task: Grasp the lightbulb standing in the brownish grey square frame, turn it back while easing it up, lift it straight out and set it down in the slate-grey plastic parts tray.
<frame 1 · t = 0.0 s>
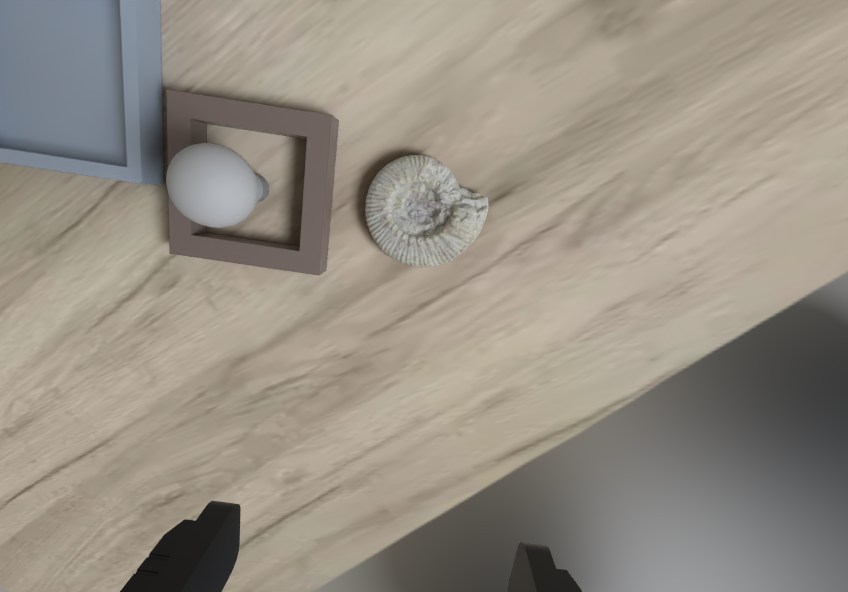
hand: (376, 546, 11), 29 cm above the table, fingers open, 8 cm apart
brownish grey square frame: (259, 188, 37), on the table
fossil: (425, 212, 38), on the table
tray: (72, 79, 35), on the table
lightbulb: (260, 188, 37), resting in brownish grey square frame
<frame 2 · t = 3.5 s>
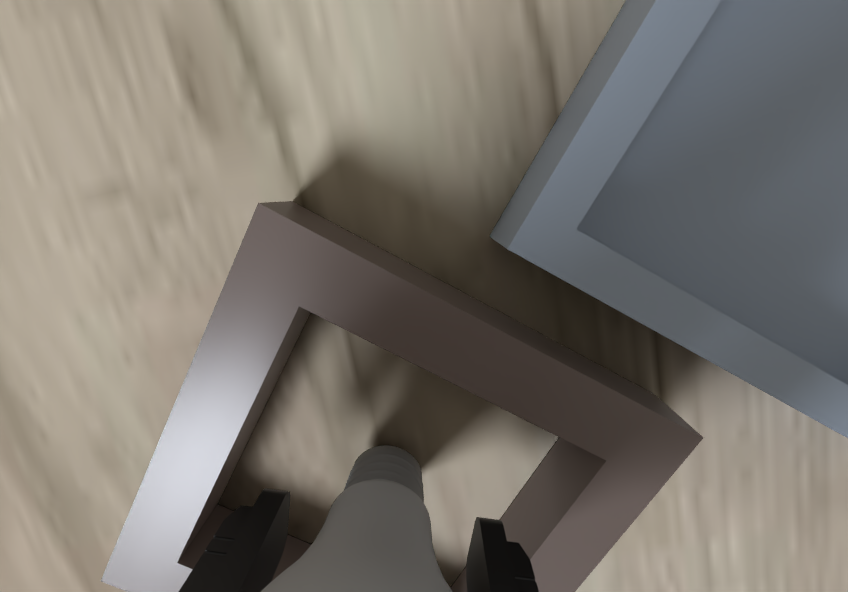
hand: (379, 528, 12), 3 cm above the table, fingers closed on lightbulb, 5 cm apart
brownish grey square frame: (389, 461, 15), on the table
lightbulb: (389, 457, 15), resting in brownish grey square frame, touching gripper
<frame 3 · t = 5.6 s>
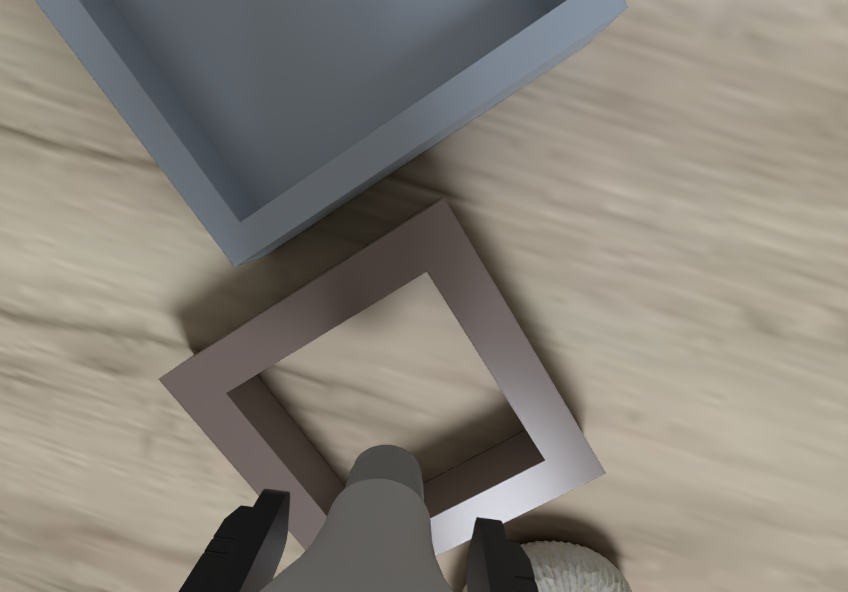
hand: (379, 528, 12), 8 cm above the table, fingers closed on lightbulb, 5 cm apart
brownish grey square frame: (393, 398, 19), on the table
lightbulb: (390, 456, 15), point 5 cm above the table, touching gripper
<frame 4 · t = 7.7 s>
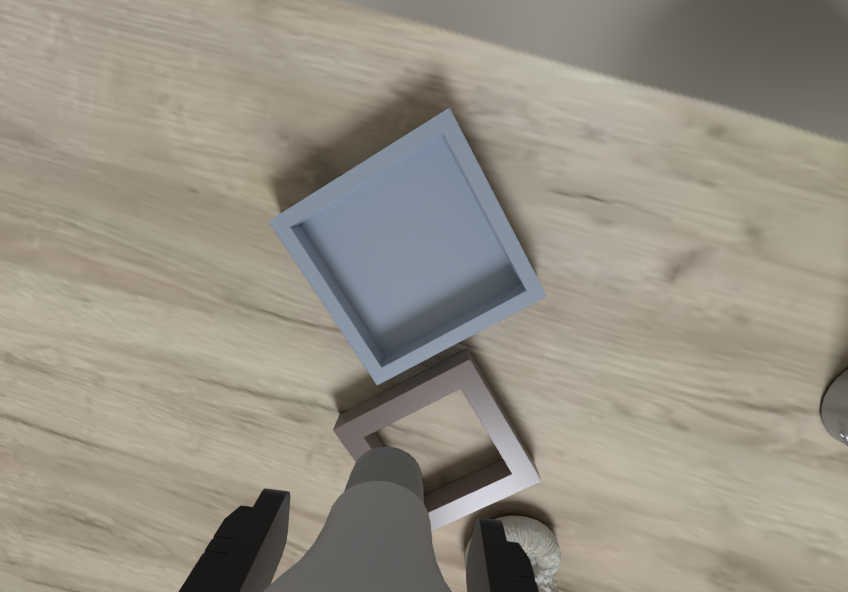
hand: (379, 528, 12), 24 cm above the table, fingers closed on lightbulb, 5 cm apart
brownish grey square frame: (438, 439, 38), on the table
fossil: (512, 549, 42), on the table
tray: (411, 253, 33), on the table
lightbulb: (390, 458, 15), point 20 cm above the table, touching gripper
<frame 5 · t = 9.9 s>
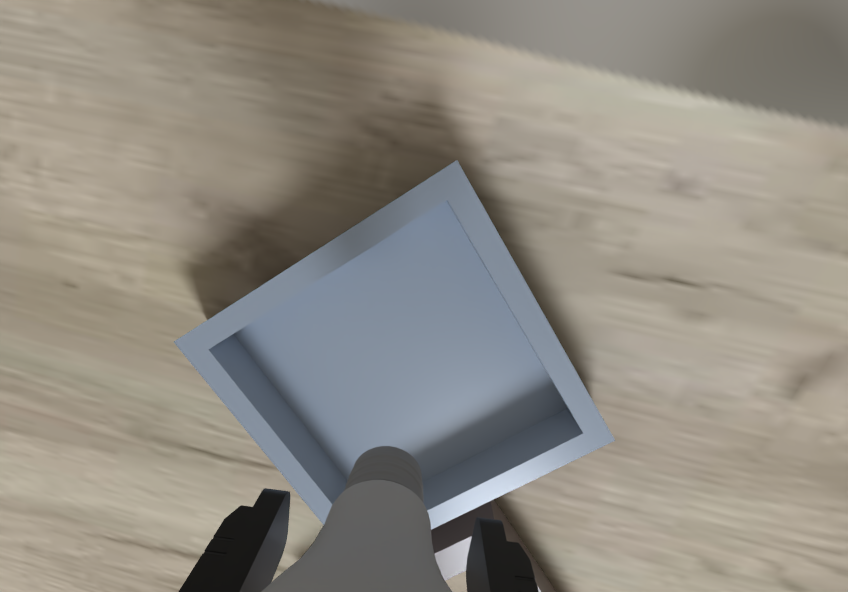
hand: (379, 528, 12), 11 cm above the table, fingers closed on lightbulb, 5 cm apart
tray: (403, 366, 22), on the table
lightbulb: (389, 457, 15), point 8 cm above the table, touching gripper
when the fingers open (5 cm above the table, at t = 11.8 s): lightbulb drops 2 cm, resting on tray.
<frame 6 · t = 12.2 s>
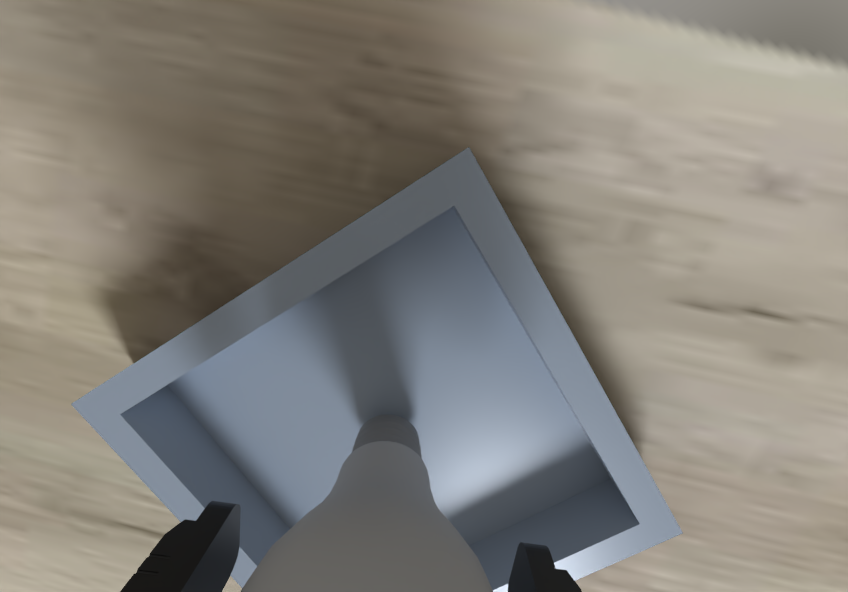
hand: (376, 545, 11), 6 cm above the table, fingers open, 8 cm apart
tray: (395, 423, 17), on the table
lightbulb: (389, 426, 16), resting on tray
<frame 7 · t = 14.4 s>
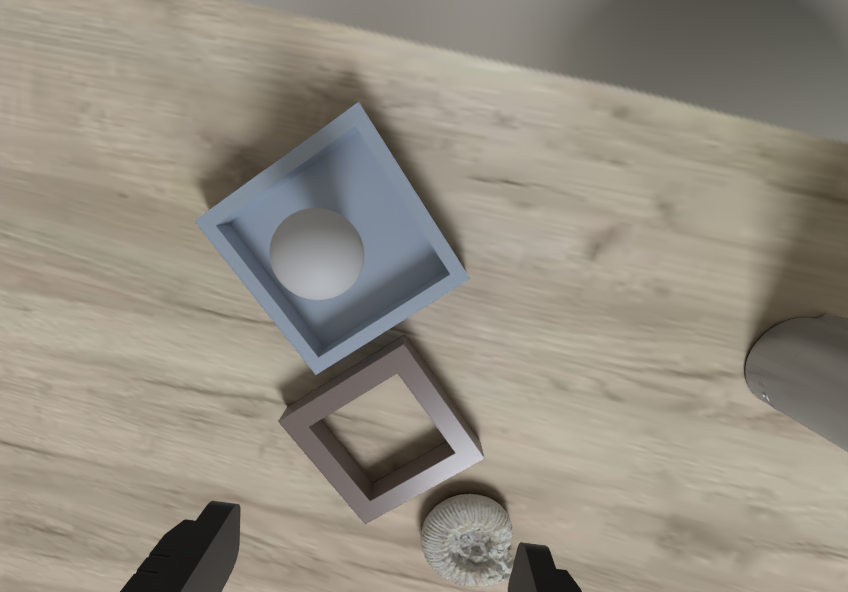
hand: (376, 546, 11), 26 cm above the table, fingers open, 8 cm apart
brownish grey square frame: (385, 425, 39), on the table
fossil: (468, 528, 43), on the table
tray: (342, 245, 35), on the table
lightbulb: (339, 244, 34), resting on tray
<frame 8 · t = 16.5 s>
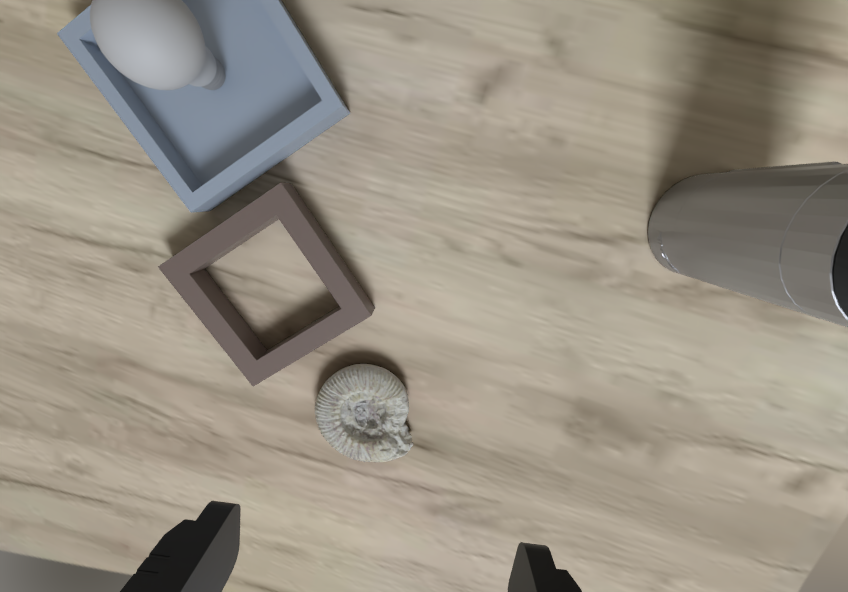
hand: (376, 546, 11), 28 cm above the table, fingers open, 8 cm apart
brownish grey square frame: (276, 285, 38), on the table
fossil: (369, 406, 42), on the table
tray: (221, 80, 34), on the table
lightbulb: (216, 77, 33), resting on tray
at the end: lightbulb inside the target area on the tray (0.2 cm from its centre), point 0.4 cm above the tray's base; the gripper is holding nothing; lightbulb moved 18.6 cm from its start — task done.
